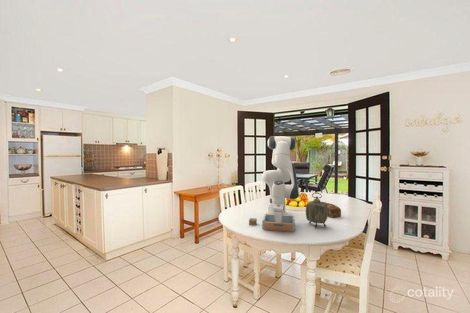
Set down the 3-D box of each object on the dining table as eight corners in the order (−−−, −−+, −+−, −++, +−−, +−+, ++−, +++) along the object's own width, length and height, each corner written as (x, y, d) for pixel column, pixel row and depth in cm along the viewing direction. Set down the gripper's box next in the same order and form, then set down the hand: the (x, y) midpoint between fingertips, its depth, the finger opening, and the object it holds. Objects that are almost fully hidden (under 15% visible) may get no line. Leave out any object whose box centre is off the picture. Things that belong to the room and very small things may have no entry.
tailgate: (264, 228, 154) (264, 221, 150) (292, 230, 149) (292, 223, 146) (264, 230, 152) (264, 222, 149) (292, 232, 148) (293, 225, 145)
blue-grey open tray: (264, 223, 170) (264, 213, 170) (294, 225, 165) (294, 215, 165) (262, 230, 153) (262, 220, 153) (295, 233, 148) (295, 223, 148)
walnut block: (250, 224, 167) (250, 217, 167) (256, 225, 166) (256, 218, 166) (249, 226, 162) (249, 220, 162) (255, 227, 161) (255, 220, 161)
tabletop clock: (327, 226, 163) (328, 192, 162) (326, 230, 155) (326, 194, 154) (307, 223, 170) (308, 190, 169) (305, 226, 162) (305, 192, 162)
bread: (316, 212, 199) (316, 201, 199) (325, 211, 203) (325, 200, 203) (332, 218, 182) (332, 206, 182) (341, 217, 186) (341, 205, 185)
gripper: (274, 201, 160) (274, 219, 161) (273, 209, 140) (273, 230, 141) (283, 201, 159) (283, 220, 160) (283, 209, 139) (283, 231, 140)
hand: (278, 225), depth 150 cm, fingers closed, pressing on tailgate
